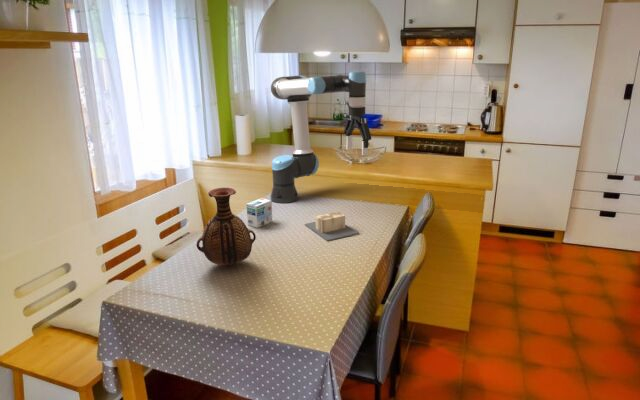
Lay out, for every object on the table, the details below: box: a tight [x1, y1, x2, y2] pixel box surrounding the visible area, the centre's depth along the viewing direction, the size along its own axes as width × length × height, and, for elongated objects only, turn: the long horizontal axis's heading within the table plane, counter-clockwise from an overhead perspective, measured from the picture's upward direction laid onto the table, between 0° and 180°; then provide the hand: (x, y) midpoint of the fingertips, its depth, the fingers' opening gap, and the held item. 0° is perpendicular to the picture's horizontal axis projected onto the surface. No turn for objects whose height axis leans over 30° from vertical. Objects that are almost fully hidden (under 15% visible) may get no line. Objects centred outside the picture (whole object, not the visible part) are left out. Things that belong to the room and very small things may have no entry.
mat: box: [304, 221, 360, 242], centre depth 213 cm, size 22×16×1 cm
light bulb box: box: [246, 197, 273, 229], centre depth 221 cm, size 11×7×11 cm, turn 143°
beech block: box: [315, 211, 346, 233], centre depth 212 cm, size 6×6×12 cm
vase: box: [196, 187, 257, 267], centre depth 176 cm, size 21×18×30 cm
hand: (356, 151), depth 221 cm, fingers open, 13 cm apart
